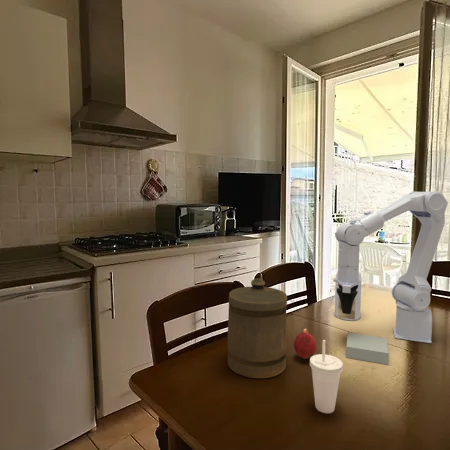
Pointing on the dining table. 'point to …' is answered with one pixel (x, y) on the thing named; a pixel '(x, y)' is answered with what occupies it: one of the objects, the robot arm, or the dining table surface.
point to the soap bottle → (357, 303)
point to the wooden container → (257, 330)
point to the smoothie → (325, 380)
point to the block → (347, 316)
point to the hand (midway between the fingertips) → (346, 310)
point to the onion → (305, 344)
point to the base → (367, 348)
